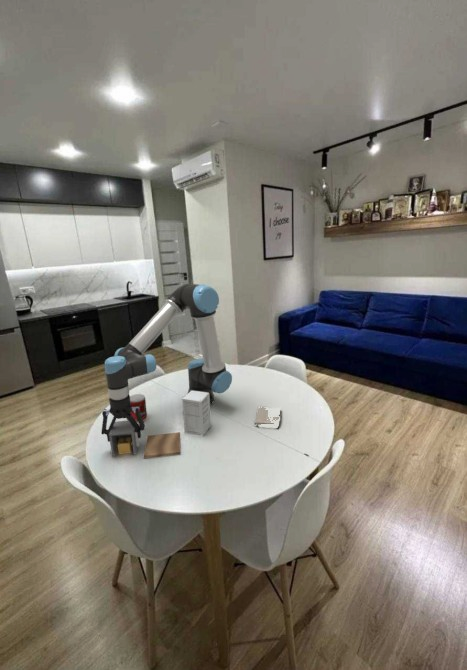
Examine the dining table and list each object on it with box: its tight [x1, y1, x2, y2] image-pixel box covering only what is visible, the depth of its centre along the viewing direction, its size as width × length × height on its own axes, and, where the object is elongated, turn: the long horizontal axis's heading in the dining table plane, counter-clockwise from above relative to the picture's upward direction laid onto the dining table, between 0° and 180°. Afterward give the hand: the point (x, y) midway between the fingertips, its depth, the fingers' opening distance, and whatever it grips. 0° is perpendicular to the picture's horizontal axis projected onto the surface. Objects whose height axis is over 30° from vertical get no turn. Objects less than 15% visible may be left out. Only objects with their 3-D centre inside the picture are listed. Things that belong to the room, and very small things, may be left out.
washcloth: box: [254, 406, 279, 425], centre depth 146 cm, size 12×18×3 cm, turn 170°
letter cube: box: [117, 437, 133, 455], centre depth 123 cm, size 4×4×5 cm
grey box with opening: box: [109, 419, 138, 458], centre depth 122 cm, size 9×9×10 cm
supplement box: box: [181, 390, 212, 437], centre depth 136 cm, size 10×9×17 cm
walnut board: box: [143, 431, 181, 459], centre depth 126 cm, size 14×14×1 cm
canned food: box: [130, 393, 148, 423], centre depth 146 cm, size 8×8×11 cm
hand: (125, 446), depth 123 cm, fingers closed on grey box with opening, 9 cm apart
